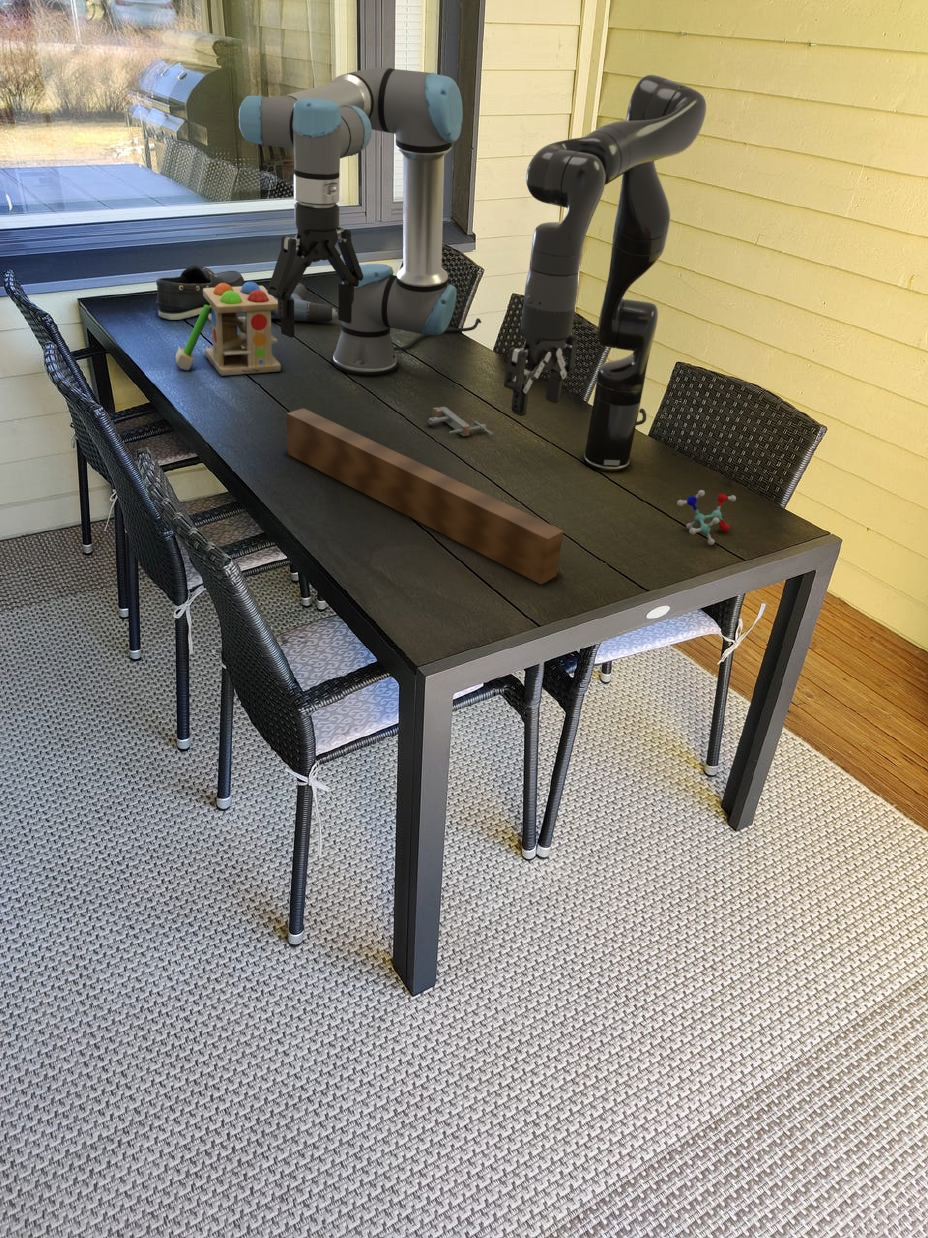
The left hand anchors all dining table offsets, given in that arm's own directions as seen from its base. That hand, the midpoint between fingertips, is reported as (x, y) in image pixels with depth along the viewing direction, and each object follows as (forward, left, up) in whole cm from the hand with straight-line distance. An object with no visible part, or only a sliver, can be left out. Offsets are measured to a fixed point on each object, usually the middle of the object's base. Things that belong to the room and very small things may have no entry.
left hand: (317, 328), depth 176 cm
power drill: (-52, -78, -27) cm, 97 cm away
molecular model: (-42, +62, -27) cm, 79 cm away
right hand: (-5, +50, +1) cm, 50 cm away
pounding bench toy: (-13, -54, -27) cm, 62 cm away
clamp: (-35, +3, -27) cm, 44 cm away
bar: (-3, +25, -27) cm, 37 cm away
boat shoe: (-32, -96, -27) cm, 105 cm away
